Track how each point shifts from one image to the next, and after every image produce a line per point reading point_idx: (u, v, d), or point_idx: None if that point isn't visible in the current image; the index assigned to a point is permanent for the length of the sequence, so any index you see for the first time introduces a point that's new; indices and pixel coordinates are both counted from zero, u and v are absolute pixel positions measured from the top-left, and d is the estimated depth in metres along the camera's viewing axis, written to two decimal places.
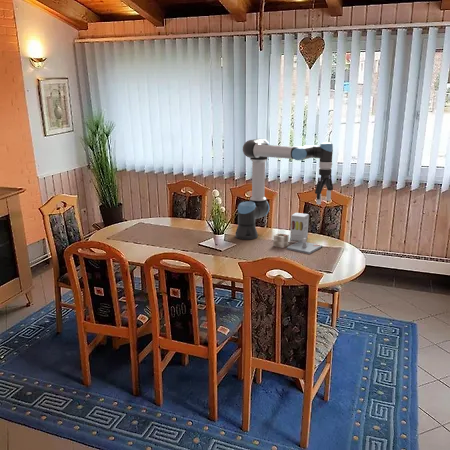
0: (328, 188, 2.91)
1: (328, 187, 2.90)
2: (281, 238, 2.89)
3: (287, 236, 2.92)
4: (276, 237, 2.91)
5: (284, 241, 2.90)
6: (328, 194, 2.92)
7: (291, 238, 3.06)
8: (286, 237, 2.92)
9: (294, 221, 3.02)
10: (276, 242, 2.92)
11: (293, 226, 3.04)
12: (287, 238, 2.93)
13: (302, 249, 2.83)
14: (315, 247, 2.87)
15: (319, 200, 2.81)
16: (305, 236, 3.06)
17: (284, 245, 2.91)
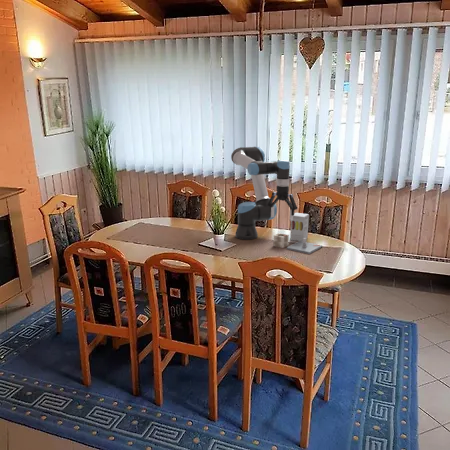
0: None
1: None
2: (281, 238, 2.89)
3: (287, 236, 2.92)
4: (276, 237, 2.91)
5: (284, 241, 2.90)
6: None
7: (291, 238, 3.06)
8: (286, 237, 2.92)
9: (294, 221, 3.02)
10: (276, 242, 2.92)
11: (293, 226, 3.04)
12: (287, 238, 2.93)
13: (302, 249, 2.83)
14: (315, 247, 2.87)
15: None
16: (305, 236, 3.06)
17: (284, 245, 2.91)
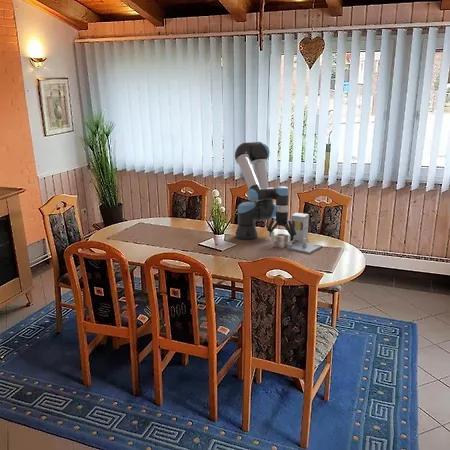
0: None
1: None
2: (281, 238, 2.89)
3: (287, 236, 2.92)
4: (276, 237, 2.91)
5: (284, 241, 2.90)
6: None
7: None
8: (286, 237, 2.92)
9: (294, 221, 3.02)
10: (276, 242, 2.92)
11: None
12: (287, 238, 2.93)
13: (302, 249, 2.83)
14: (315, 247, 2.87)
15: None
16: (305, 236, 3.06)
17: (284, 245, 2.91)
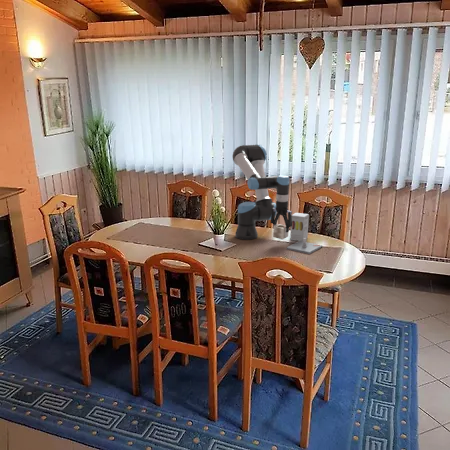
0: None
1: None
2: (281, 229, 2.88)
3: None
4: (276, 228, 2.90)
5: (284, 232, 2.90)
6: None
7: (291, 238, 3.06)
8: None
9: (294, 221, 3.02)
10: (276, 233, 2.91)
11: (293, 226, 3.04)
12: None
13: (302, 249, 2.83)
14: (315, 247, 2.87)
15: None
16: (305, 236, 3.06)
17: None
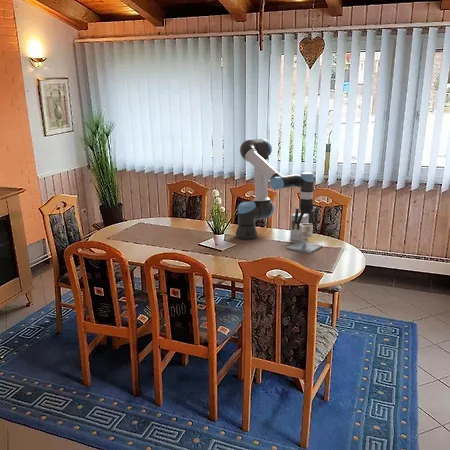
0: (311, 221, 2.86)
1: (311, 219, 2.85)
2: (311, 227, 2.83)
3: None
4: (305, 227, 2.82)
5: None
6: None
7: (291, 238, 3.06)
8: None
9: None
10: (305, 232, 2.83)
11: (293, 226, 3.04)
12: None
13: (302, 249, 2.83)
14: (315, 247, 2.87)
15: (299, 231, 2.85)
16: None
17: None
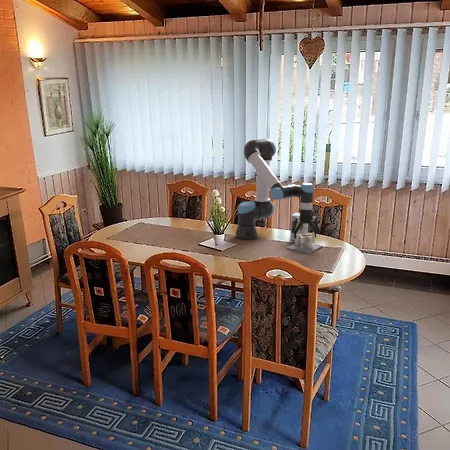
0: (313, 230, 2.87)
1: None
2: (310, 238, 2.85)
3: None
4: (304, 238, 2.84)
5: None
6: (312, 236, 2.88)
7: (291, 238, 3.06)
8: None
9: None
10: (304, 243, 2.85)
11: None
12: None
13: (302, 249, 2.83)
14: (315, 247, 2.87)
15: (296, 239, 2.87)
16: None
17: None
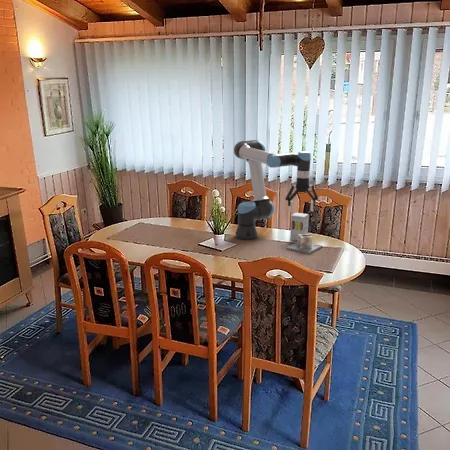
0: None
1: None
2: (310, 238, 2.85)
3: None
4: (304, 238, 2.84)
5: None
6: (311, 204, 2.86)
7: (291, 238, 3.06)
8: None
9: (294, 221, 3.02)
10: (304, 243, 2.85)
11: (293, 226, 3.04)
12: None
13: (302, 249, 2.83)
14: (315, 247, 2.87)
15: (290, 207, 2.84)
16: None
17: None
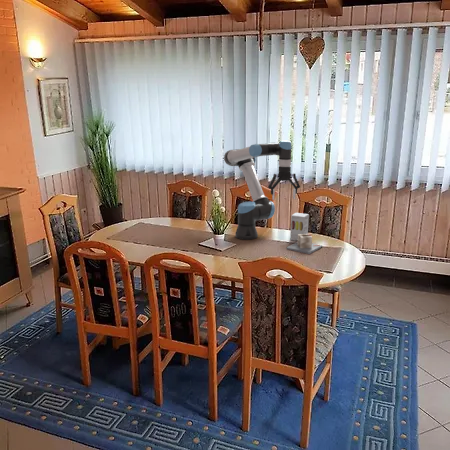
0: None
1: (293, 185, 2.93)
2: (310, 238, 2.85)
3: None
4: (304, 238, 2.84)
5: None
6: (293, 192, 2.94)
7: (291, 238, 3.06)
8: None
9: (294, 221, 3.02)
10: (304, 243, 2.85)
11: (293, 226, 3.04)
12: None
13: (302, 249, 2.83)
14: (315, 247, 2.87)
15: (273, 195, 2.92)
16: None
17: None
